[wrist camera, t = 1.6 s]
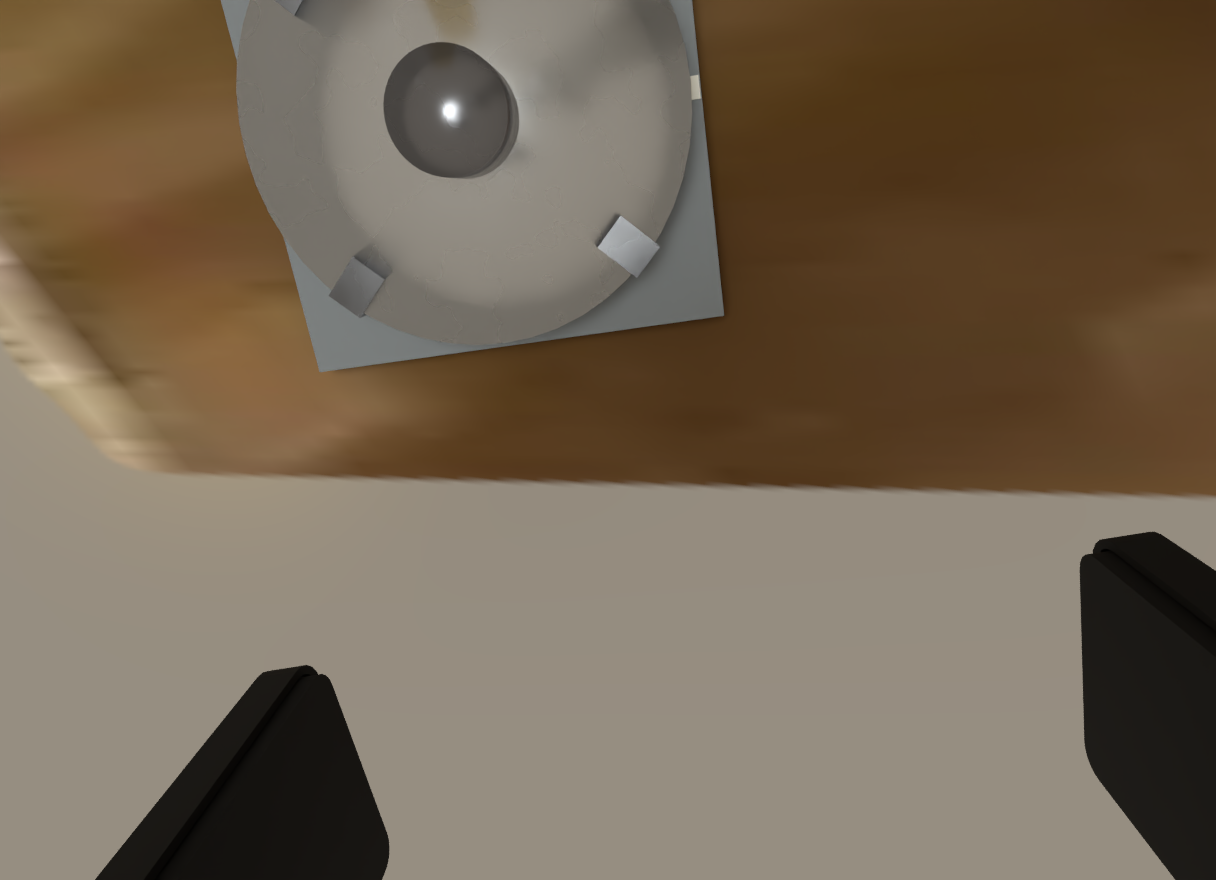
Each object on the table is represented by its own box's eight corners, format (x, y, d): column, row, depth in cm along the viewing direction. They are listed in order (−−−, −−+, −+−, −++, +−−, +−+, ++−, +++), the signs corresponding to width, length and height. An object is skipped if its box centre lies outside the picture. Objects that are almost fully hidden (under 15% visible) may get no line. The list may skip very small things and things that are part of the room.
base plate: (218, -79, 29) (194, -94, 27) (671, -168, 27) (672, -189, 26) (333, 364, 34) (318, 372, 32) (720, 310, 32) (724, 316, 31)
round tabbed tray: (711, 306, 30) (724, 329, 25) (325, 360, 32) (261, 393, 27) (659, -178, 26) (662, -274, 20) (207, -88, 27) (102, -156, 22)
